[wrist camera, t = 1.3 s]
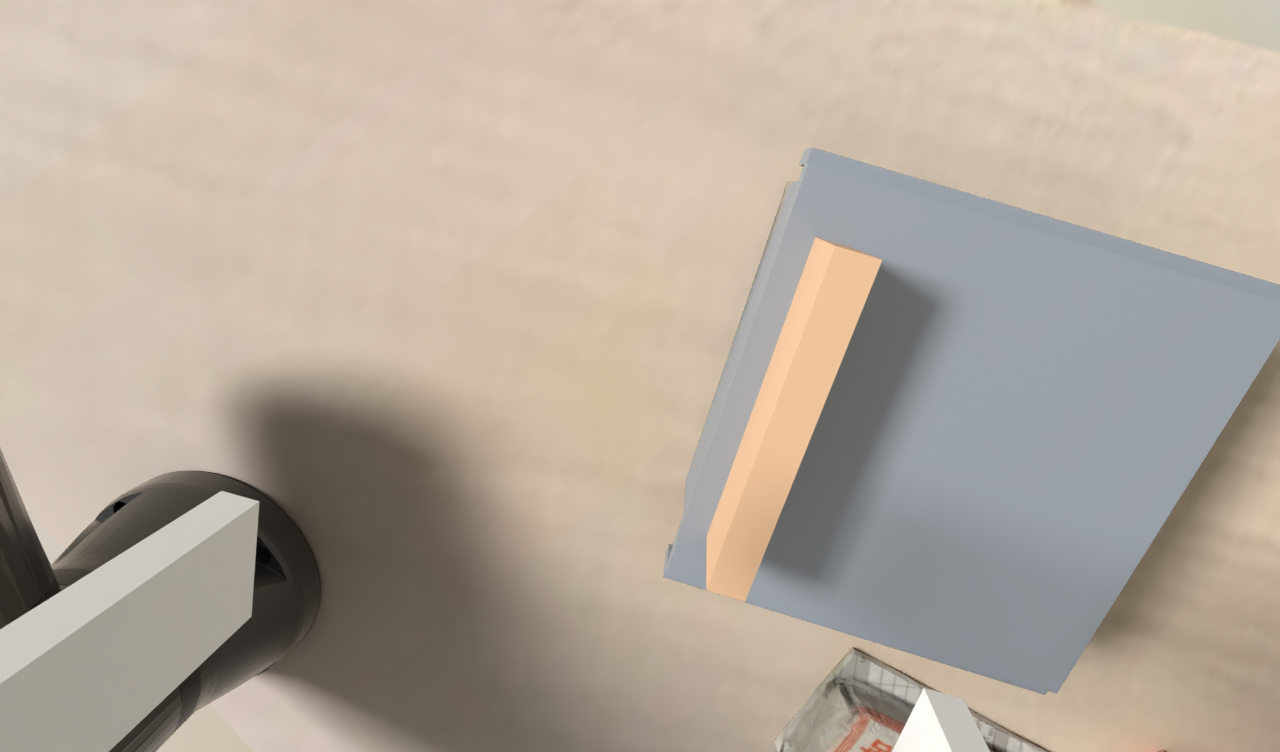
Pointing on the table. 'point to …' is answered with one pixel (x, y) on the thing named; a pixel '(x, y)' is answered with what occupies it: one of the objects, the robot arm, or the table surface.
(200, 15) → the table surface
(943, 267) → the lid
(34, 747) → the robot arm
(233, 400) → the table surface
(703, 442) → the open gray box
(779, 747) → the packaged product
